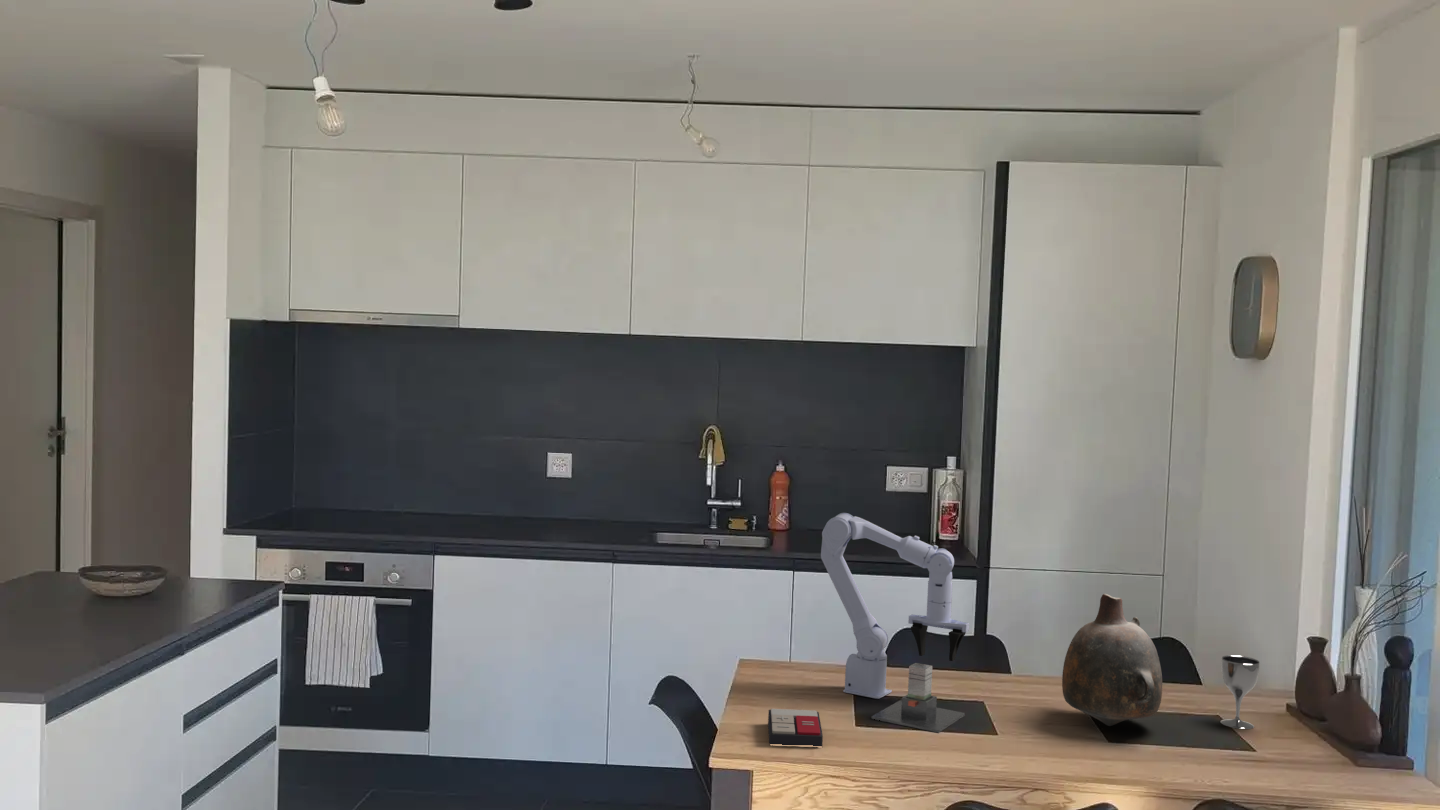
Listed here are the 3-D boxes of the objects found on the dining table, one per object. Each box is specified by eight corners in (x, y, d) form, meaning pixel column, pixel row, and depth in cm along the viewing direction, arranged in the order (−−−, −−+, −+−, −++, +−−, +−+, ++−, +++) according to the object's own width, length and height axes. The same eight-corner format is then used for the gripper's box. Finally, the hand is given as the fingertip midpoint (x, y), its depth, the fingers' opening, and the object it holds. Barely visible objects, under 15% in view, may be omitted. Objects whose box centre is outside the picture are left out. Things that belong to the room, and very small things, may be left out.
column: (907, 701, 272) (908, 666, 272) (914, 697, 276) (915, 662, 276) (924, 704, 270) (925, 669, 270) (931, 700, 274) (932, 665, 273)
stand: (871, 718, 271) (872, 698, 270) (899, 702, 284) (900, 683, 284) (938, 732, 262) (939, 712, 262) (964, 715, 276) (965, 695, 276)
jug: (1181, 728, 272) (1188, 596, 271) (1141, 748, 256) (1148, 609, 255) (1080, 704, 289) (1086, 580, 287) (1036, 721, 273) (1043, 590, 272)
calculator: (770, 730, 249) (768, 705, 264) (769, 750, 249) (767, 724, 264) (823, 732, 249) (818, 708, 264) (822, 753, 249) (818, 727, 264)
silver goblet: (1256, 722, 279) (1259, 658, 278) (1255, 731, 272) (1259, 665, 271) (1219, 716, 282) (1222, 653, 282) (1217, 725, 275) (1221, 660, 274)
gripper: (974, 602, 286) (972, 659, 286) (917, 594, 293) (915, 649, 294) (964, 607, 280) (961, 665, 280) (905, 598, 287) (903, 655, 288)
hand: (937, 657), depth 287 cm, fingers open, 7 cm apart
